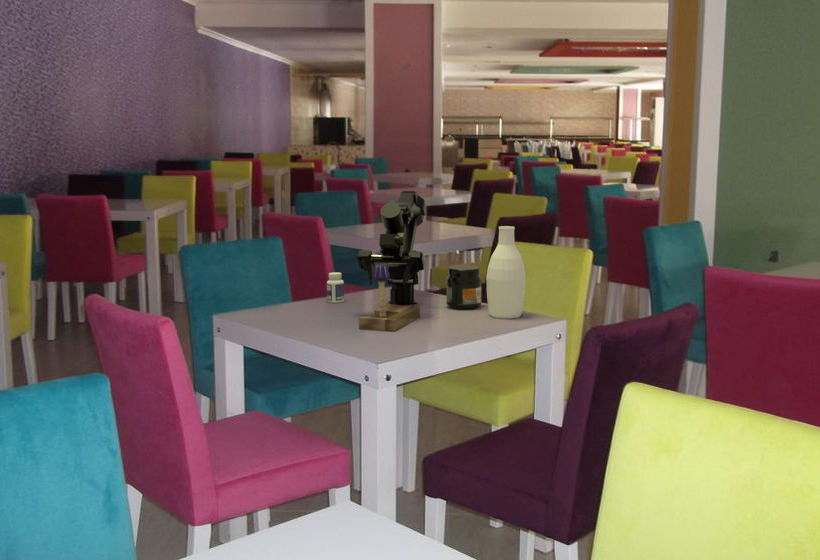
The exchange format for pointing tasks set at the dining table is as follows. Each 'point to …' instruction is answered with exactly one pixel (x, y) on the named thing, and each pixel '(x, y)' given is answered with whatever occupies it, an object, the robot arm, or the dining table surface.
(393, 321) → the notched board
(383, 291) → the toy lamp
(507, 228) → the bottle
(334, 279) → the pill bottle
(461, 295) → the supplement container
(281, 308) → the dining table surface
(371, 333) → the dining table surface
